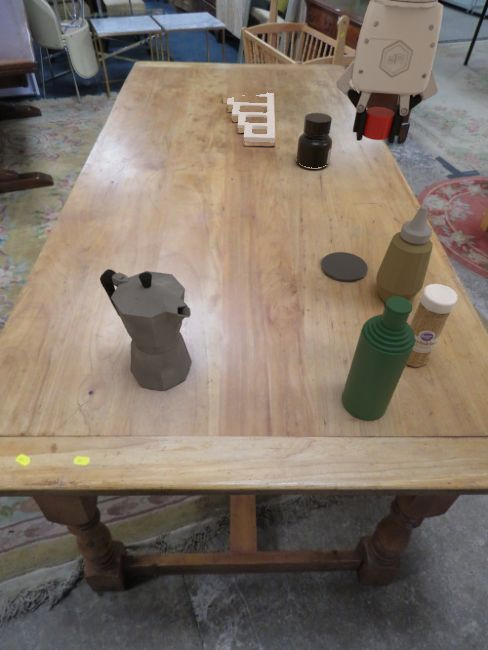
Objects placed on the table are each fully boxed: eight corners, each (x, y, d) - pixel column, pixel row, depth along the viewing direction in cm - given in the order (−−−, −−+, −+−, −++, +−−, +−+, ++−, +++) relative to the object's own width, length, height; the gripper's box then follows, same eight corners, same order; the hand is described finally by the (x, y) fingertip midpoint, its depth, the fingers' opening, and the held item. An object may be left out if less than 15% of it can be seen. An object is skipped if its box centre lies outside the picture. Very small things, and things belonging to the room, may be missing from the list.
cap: (362, 139, 65) (367, 116, 62) (360, 127, 67) (365, 105, 65) (390, 141, 64) (396, 118, 62) (387, 129, 67) (393, 107, 65)
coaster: (365, 256, 88) (366, 254, 88) (368, 284, 82) (368, 282, 81) (321, 252, 89) (321, 249, 89) (320, 279, 83) (320, 276, 82)
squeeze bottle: (370, 279, 83) (394, 192, 70) (413, 284, 82) (446, 196, 70) (373, 308, 77) (400, 218, 64) (419, 313, 76) (456, 223, 64)
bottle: (384, 386, 65) (423, 288, 51) (388, 423, 60) (433, 326, 47) (341, 381, 65) (368, 283, 52) (342, 417, 61) (373, 320, 47)
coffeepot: (214, 366, 67) (210, 273, 54) (175, 409, 61) (160, 316, 49) (139, 326, 73) (120, 234, 60) (98, 362, 67) (66, 269, 54)
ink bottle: (335, 167, 117) (343, 121, 109) (308, 173, 114) (314, 126, 106) (316, 153, 123) (322, 109, 115) (289, 159, 120) (293, 113, 112)
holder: (274, 147, 126) (275, 137, 124) (212, 145, 126) (212, 135, 124) (273, 96, 158) (273, 88, 156) (223, 95, 158) (223, 86, 156)
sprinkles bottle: (402, 368, 67) (430, 304, 58) (394, 346, 71) (419, 282, 61) (431, 368, 68) (464, 303, 58) (422, 346, 71) (451, 282, 61)
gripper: (340, -11, 52) (318, 144, 65) (486, -4, 50) (434, 153, 63) (339, -20, 57) (319, 125, 70) (472, -13, 55) (426, 133, 68)
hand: (374, 137), depth 66 cm, fingers closed on cap, 4 cm apart
